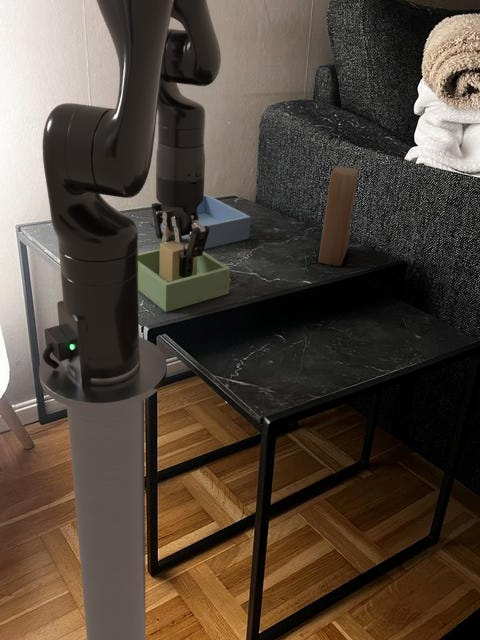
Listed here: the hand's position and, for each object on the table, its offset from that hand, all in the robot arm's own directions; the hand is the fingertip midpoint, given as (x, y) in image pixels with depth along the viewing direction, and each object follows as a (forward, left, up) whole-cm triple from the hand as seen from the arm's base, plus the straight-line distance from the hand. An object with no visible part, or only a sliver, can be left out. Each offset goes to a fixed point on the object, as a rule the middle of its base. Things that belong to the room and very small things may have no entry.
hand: (178, 270), depth 103 cm
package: (0, 0, -1) cm, 1 cm away
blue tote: (+18, +19, -3) cm, 26 cm away
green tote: (0, 0, -3) cm, 3 cm away
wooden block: (+34, -4, -3) cm, 34 cm away
